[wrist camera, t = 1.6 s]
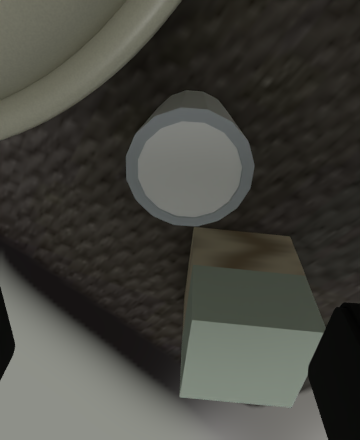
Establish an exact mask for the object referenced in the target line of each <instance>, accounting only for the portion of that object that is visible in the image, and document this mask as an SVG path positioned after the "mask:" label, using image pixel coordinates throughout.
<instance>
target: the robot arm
mask: <svg viewBox="0 0 360 440" xmlns="http://www.w3.org/2000/svg"><path fill="white" fill-rule="evenodd" d="M14 349H15V342H14V338H13V334H12V330H11V326H10V322H9V319H8V314H7V311H6V307H5V303H4V299H3V295H2V291H1V287H0V380H1V378H2V376H3V374H4V372H5V370H6V368H7V366H8V364H9V362H10V360H11V358H12V356H13V353H14ZM308 377H309V381H310V384H311V387H312V390H313V393H314V396H315V399H316V402H317V406H318V409H319V412H320V415H321V418H322V421H323V424H324V428H325V430H326V434H327V437H328V440H360V304H357V303H343V304H342V305H341V306H340V307H337V308H335V310H334V312H333V314H332V316H331V318H330V320H329V322H328V325H327V327H326V329H325V331H324V333H323V335H322V338H321V340H320V342H319V344H318V346H317V348H316V350H315V353H314V355H313V357H312V359H311V361H310V363H309V366H308Z"/></svg>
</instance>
